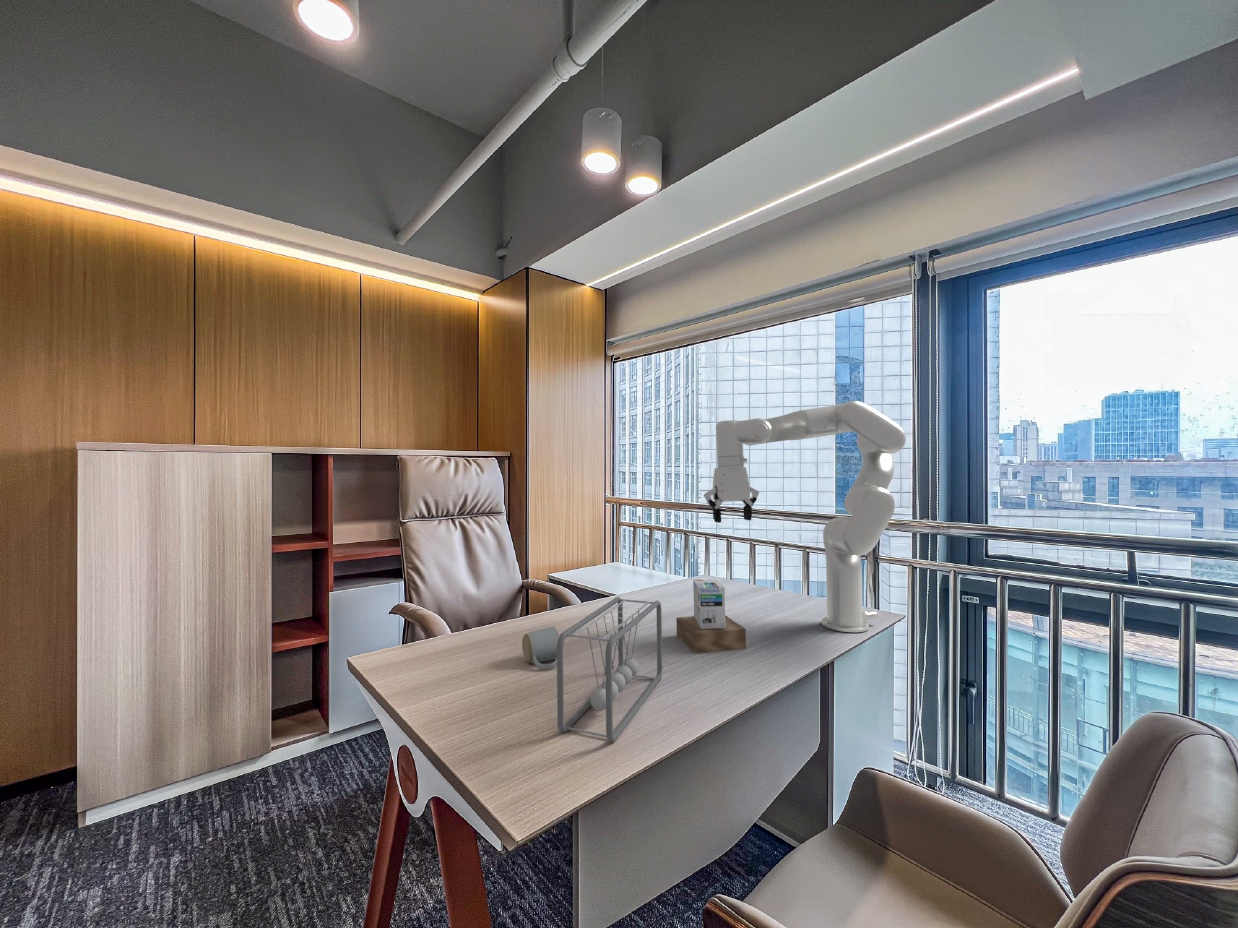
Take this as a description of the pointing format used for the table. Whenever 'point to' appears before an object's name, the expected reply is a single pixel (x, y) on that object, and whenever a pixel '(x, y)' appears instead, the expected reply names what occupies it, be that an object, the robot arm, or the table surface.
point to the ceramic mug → (541, 647)
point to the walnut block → (710, 635)
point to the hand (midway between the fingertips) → (732, 521)
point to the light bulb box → (709, 603)
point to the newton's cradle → (609, 667)
